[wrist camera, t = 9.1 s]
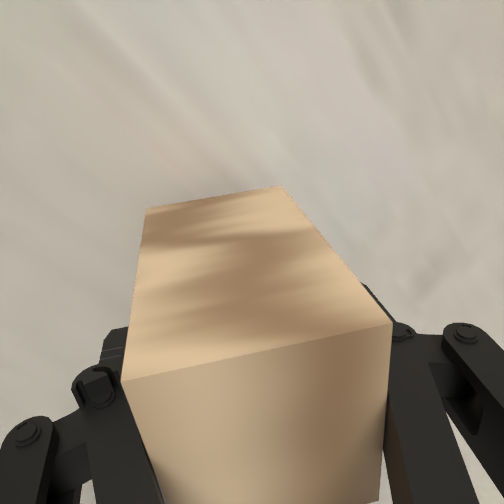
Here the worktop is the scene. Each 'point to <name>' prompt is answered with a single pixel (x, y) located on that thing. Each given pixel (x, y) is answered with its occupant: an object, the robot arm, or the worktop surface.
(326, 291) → the block
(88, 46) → the worktop surface
